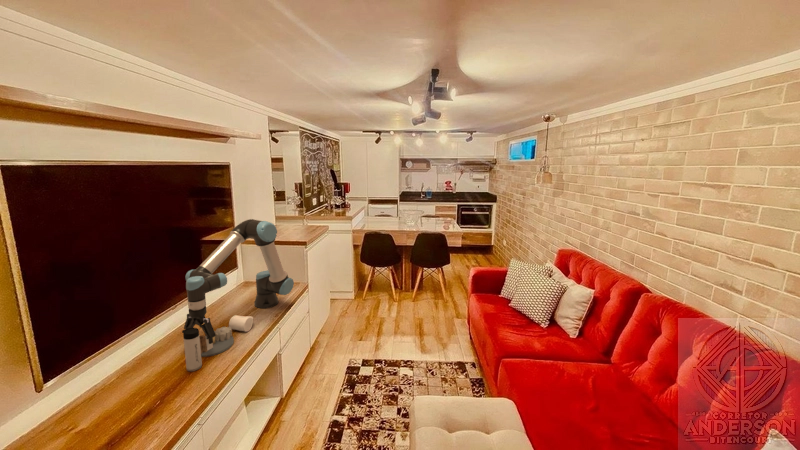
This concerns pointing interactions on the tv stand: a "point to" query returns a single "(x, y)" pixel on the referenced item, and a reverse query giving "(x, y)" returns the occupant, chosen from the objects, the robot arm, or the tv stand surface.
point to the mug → (241, 323)
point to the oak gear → (203, 344)
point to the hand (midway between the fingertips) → (200, 345)
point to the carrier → (220, 342)
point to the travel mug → (192, 349)
